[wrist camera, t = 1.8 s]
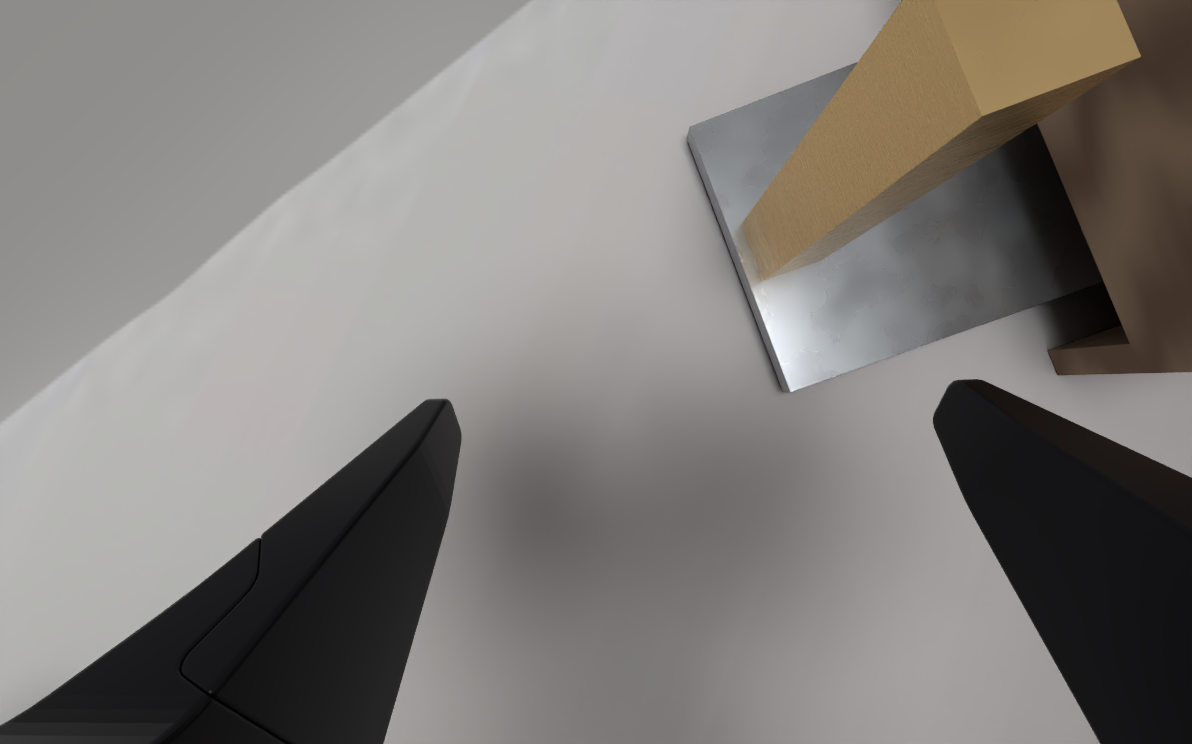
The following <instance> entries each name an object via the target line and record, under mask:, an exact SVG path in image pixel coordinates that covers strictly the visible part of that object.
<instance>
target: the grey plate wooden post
mask: <svg viewBox="0 0 1192 744" xmlns="http://www.w3.org/2000/svg"><path fill="white" fill-rule="evenodd" d="M1140 57H1141V55H1140V53H1139V50H1138V48H1137V46H1136V43H1135V41H1134V39H1133V36H1132V34H1131V32H1130V30H1129V27H1128V25H1127V23H1126V20H1125V18H1124V16H1123V14H1122V11H1121V9H1120V7H1119V4H1118V2H1117V0H903V1H902V2H901V3H900V5H899V6H898V7H897V9H896V10H895V12H894V13H893V14H892V16H891V17H890V19H889V20H888V21H887V23H886V24H885V26H884V27H883V28H882V30H881V31H880V32H879V34H878V35H877V37H876V38H875V39H874V41H873V42H872V44H871V45H870V46H869V48H868V49H867V50H866V52H865V53H864V55H863V56H862V57H861V59H860V60H859V62H857V63H854V64H852V65H849V66H846V67H844V68H841V69H839V70H836V71H833V72H831V73H828V74H826V75H823V76H820V77H818V78H815V79H813V80H810V81H807V82H805V83H802V84H800V85H797V86H795V87H792V88H789V89H787V90H784V91H782V92H779V93H776V94H774V95H771V96H769V97H766V98H763V99H761V100H758V101H756V102H753V103H750V104H748V105H745V106H743V107H740V108H737V109H735V110H732V111H730V112H727V113H724V114H722V115H719V116H717V117H714V118H711V119H709V120H706V121H704V122H701V123H698V124H696V125H693V126H691V127H690V128H689V132H688V136H687V140H688V143H689V145H690V148H691V150H692V153H693V156H694V158H695V161H696V164H697V166H698V169H699V172H700V174H701V177H702V179H703V182H704V185H705V187H706V190H707V193H708V195H709V198H710V201H711V203H712V206H713V208H714V211H715V214H716V216H717V219H718V222H719V224H720V227H721V230H722V232H723V235H724V237H725V240H726V243H727V245H728V248H729V251H730V253H731V256H732V259H733V261H734V264H735V266H736V269H737V272H738V274H739V277H740V280H741V282H742V285H743V288H744V290H745V293H746V295H747V298H748V301H749V303H750V306H751V309H752V311H753V314H754V316H755V319H756V322H757V324H758V327H759V330H760V332H761V335H762V338H763V340H764V343H765V345H766V348H767V351H768V353H769V356H770V359H771V361H772V364H773V367H774V369H775V372H776V374H777V377H778V380H779V382H780V385H781V388H782V390H783V392H792V391H795V390H798V389H801V388H804V387H806V386H809V385H812V384H815V383H818V382H821V381H824V380H826V379H829V378H832V377H835V376H838V375H841V374H843V373H846V372H849V371H852V370H855V369H858V368H860V367H863V366H866V365H869V364H872V363H875V362H877V361H880V360H883V359H886V358H889V357H892V356H894V355H897V354H900V353H903V352H906V351H909V350H911V349H914V348H917V347H920V346H923V345H926V344H928V343H931V342H934V341H937V340H940V339H943V338H945V337H948V336H951V335H954V334H957V333H960V332H962V331H965V330H968V329H971V328H974V327H977V326H979V325H982V324H985V323H988V322H991V321H994V320H997V319H999V318H1002V317H1005V316H1008V315H1011V314H1014V313H1016V312H1019V311H1022V310H1025V309H1028V308H1031V307H1033V306H1036V305H1039V304H1042V303H1045V302H1048V301H1050V300H1053V299H1056V298H1059V297H1062V296H1065V295H1067V294H1070V293H1073V292H1076V291H1079V290H1082V289H1084V288H1087V287H1090V286H1093V285H1096V284H1099V283H1101V282H1104V281H1103V279H1102V276H1101V274H1100V271H1099V269H1098V267H1097V264H1096V262H1095V259H1094V257H1093V255H1092V252H1091V250H1090V248H1089V245H1088V243H1087V240H1086V238H1085V236H1084V233H1083V231H1082V229H1081V226H1080V224H1079V221H1078V219H1077V217H1076V214H1075V212H1074V209H1073V207H1072V205H1071V202H1070V200H1069V198H1068V195H1067V193H1066V190H1065V188H1064V186H1063V183H1062V181H1061V179H1060V176H1059V174H1058V171H1057V169H1056V167H1055V164H1054V162H1053V159H1052V157H1051V155H1050V152H1049V150H1048V148H1047V145H1046V143H1045V140H1044V138H1043V136H1042V133H1041V131H1040V129H1039V126H1038V124H1037V123H1038V122H1040V121H1041V120H1043V119H1044V118H1046V117H1047V116H1049V115H1051V114H1052V113H1054V112H1055V111H1057V110H1058V109H1060V108H1062V107H1063V106H1065V105H1066V104H1068V103H1069V102H1071V101H1073V100H1074V99H1076V98H1077V97H1079V96H1080V95H1082V94H1083V93H1085V92H1087V91H1088V90H1090V89H1091V88H1093V87H1094V86H1096V85H1098V84H1099V83H1101V82H1102V81H1104V80H1105V79H1107V78H1109V77H1110V76H1112V75H1113V74H1115V73H1116V72H1118V71H1120V70H1121V69H1123V68H1124V67H1126V66H1127V65H1129V64H1131V63H1132V62H1134V61H1135V60H1137V59H1138V58H1140Z"/></svg>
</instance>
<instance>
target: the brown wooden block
mask: <svg viewBox="0 0 1192 744" xmlns="http://www.w3.org/2000/svg"><path fill="white" fill-rule="evenodd" d="M1117 2H1118V4H1119V7H1120V9H1121V11H1122V14H1123V16H1124V18H1125V20H1126V23H1127V25H1128V27H1129V30H1130V32H1131V34H1132V36H1133V39H1134V41H1135V43H1136V46H1137V48H1138V50H1139V53H1140V55H1141V57H1140V58H1138V59H1137V60H1135V61H1134V62H1132V63H1131V64H1129V65H1127V66H1126V67H1124V68H1123V69H1121V70H1120V71H1118V72H1116V73H1115V74H1113V75H1112V76H1110V77H1109V78H1107V79H1105V80H1104V81H1102V82H1101V83H1099V84H1098V85H1096V86H1094V87H1093V88H1091V89H1090V90H1088V91H1087V92H1085V93H1083V94H1082V95H1080V96H1079V97H1077V98H1076V99H1074V100H1073V101H1071V102H1069V103H1068V104H1066V105H1065V106H1063V107H1062V108H1060V109H1058V110H1057V111H1055V112H1054V113H1052V114H1051V115H1049V116H1047V117H1046V118H1044V119H1043V120H1041V121H1040V122H1038V123H1037V124H1038V126H1039V129H1040V131H1041V133H1042V136H1043V138H1044V140H1045V143H1046V145H1047V148H1048V150H1049V152H1050V155H1051V157H1052V159H1053V162H1054V164H1055V167H1056V169H1057V171H1058V174H1059V176H1060V179H1061V181H1062V183H1063V186H1064V188H1065V190H1066V193H1067V195H1068V198H1069V200H1070V202H1071V205H1072V207H1073V209H1074V212H1075V214H1076V217H1077V219H1078V221H1079V224H1080V226H1081V229H1082V231H1083V233H1084V236H1085V238H1086V240H1087V243H1088V245H1089V248H1090V250H1091V252H1092V255H1093V257H1094V259H1095V262H1096V264H1097V267H1098V269H1099V271H1100V274H1101V276H1102V279H1103V281H1104V283H1105V286H1106V288H1107V290H1108V293H1109V295H1110V298H1111V300H1112V302H1113V305H1114V307H1115V310H1116V312H1117V314H1118V317H1119V319H1120V321H1121V324H1122V325H1121V326H1118V327H1115V328H1112V329H1109V330H1106V331H1103V332H1100V333H1098V334H1095V335H1092V336H1089V337H1086V338H1083V339H1080V340H1077V341H1075V342H1072V343H1069V344H1066V345H1063V346H1060V347H1057V348H1054V349H1051V350H1049V351H1048V352H1049V354H1050V357H1051V359H1052V362H1053V364H1054V366H1055V369H1056V371H1057V374H1058V375H1085V374H1126V373H1167V372H1192V0H1117Z"/></svg>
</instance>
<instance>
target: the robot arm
mask: <svg viewBox="0 0 1192 744" xmlns="http://www.w3.org/2000/svg"><path fill="white" fill-rule="evenodd" d="M933 425H934V428H935V431H936V433H937V436H938V438H939V440H940V443H941V445H942V448H943V450H944V452H945V455H946V457H947V459H948V462H949V464H950V467H951V469H952V471H953V474H954V476H955V478H956V481H957V483H958V486H959V488H960V490H961V492H962V495H963V497H964V499H965V501H966V503H967V505H968V507H969V509H970V511H971V513H972V515H973V517H974V518H975V520H976V522H977V524H978V526H979V527H980V529H981V531H982V533H983V535H984V536H985V538H986V540H987V542H988V543H989V545H990V547H991V549H992V551H993V552H994V554H995V556H996V558H997V560H998V561H999V563H1000V565H1001V567H1002V569H1003V570H1004V572H1005V574H1006V576H1007V577H1008V579H1009V581H1010V583H1011V585H1012V586H1013V588H1014V590H1015V592H1016V594H1017V595H1018V597H1019V599H1020V601H1021V603H1022V604H1023V606H1024V608H1025V610H1026V612H1027V613H1028V615H1029V617H1030V619H1031V620H1032V622H1033V624H1034V626H1035V628H1036V629H1037V631H1038V633H1039V635H1040V637H1041V638H1042V640H1043V642H1044V644H1045V646H1046V647H1047V649H1048V651H1049V653H1050V655H1051V656H1052V658H1053V660H1054V662H1055V663H1056V665H1057V667H1058V669H1059V671H1060V672H1061V674H1062V676H1063V678H1064V680H1065V681H1066V683H1067V685H1068V687H1069V689H1070V690H1071V692H1072V694H1073V696H1074V697H1075V699H1076V701H1077V703H1078V705H1079V706H1080V708H1081V710H1082V712H1083V714H1084V715H1085V717H1086V719H1087V721H1088V723H1089V724H1090V726H1091V728H1092V730H1093V732H1094V733H1095V735H1096V737H1097V739H1098V740H1099V742H1100V744H1192V478H1191V477H1189V476H1187V475H1185V474H1182V473H1180V472H1178V471H1176V470H1174V469H1172V468H1170V467H1167V466H1165V465H1163V464H1161V463H1159V462H1157V461H1155V460H1152V459H1150V458H1148V457H1146V456H1144V455H1142V454H1140V453H1137V452H1135V451H1133V450H1131V449H1129V448H1127V447H1125V446H1122V445H1120V444H1118V443H1116V442H1114V441H1112V440H1110V439H1107V438H1105V437H1103V436H1101V435H1099V434H1097V433H1095V432H1092V431H1090V430H1088V429H1086V428H1084V427H1082V426H1080V425H1077V424H1075V423H1073V422H1071V421H1069V420H1067V419H1065V418H1063V417H1060V416H1058V415H1056V414H1054V413H1052V412H1050V411H1048V410H1045V409H1043V408H1041V407H1039V406H1037V405H1035V404H1033V403H1030V402H1028V401H1026V400H1024V399H1022V398H1020V397H1018V396H1015V395H1013V394H1011V393H1009V392H1007V391H1005V390H1003V389H1000V388H998V387H996V386H994V385H992V384H990V383H988V382H985V381H983V380H978V379H972V380H956V381H953V382H952V383H951V384H949V386H948V387H947V389H946V391H945V393H944V395H943V397H942V399H941V401H940V403H939V405H938V407H937V409H936V411H935V413H934V416H933ZM460 446H461V430H460V426H459V423H458V421H457V418H456V415H455V412H454V409H453V406H452V404H451V402H450V401H449V400H448V399H428V400H425V401H424V402H423V403H421V404H420V405H419V406H418V407H416V408H415V409H414V410H413V411H412V412H410V413H409V414H408V415H407V416H405V417H404V418H403V419H402V420H401V421H399V422H398V423H397V424H396V425H395V426H393V427H392V428H391V429H390V430H388V431H387V432H386V433H385V434H384V435H382V436H381V437H380V438H379V439H377V440H376V441H375V442H374V443H373V444H371V445H370V446H369V447H368V448H366V449H365V450H364V451H363V452H362V453H360V454H359V455H358V456H357V457H356V458H354V459H353V460H352V461H351V462H349V463H348V464H347V465H346V466H345V467H343V468H342V469H341V470H340V471H338V472H337V473H336V474H335V475H334V476H332V477H331V478H330V479H329V480H327V481H326V482H325V483H324V484H323V485H321V486H320V487H319V488H318V489H317V490H315V491H314V492H313V493H312V494H310V495H309V496H308V497H307V498H306V499H304V500H303V501H302V502H301V503H299V504H298V505H297V506H296V507H295V508H293V509H292V510H291V511H290V512H288V513H287V514H286V515H285V516H284V517H282V518H281V519H280V520H279V521H277V522H276V523H275V524H274V525H273V526H271V527H270V528H269V529H268V530H267V531H265V532H264V533H263V534H262V535H261V538H257V539H255V540H254V541H253V542H252V543H250V544H249V545H248V546H247V547H246V548H244V549H243V550H242V551H241V552H240V553H238V554H237V555H236V556H235V557H233V558H232V559H231V560H230V561H228V562H227V563H226V564H225V565H223V566H222V567H221V568H220V569H218V570H217V571H216V572H214V573H213V574H212V575H211V576H209V577H208V578H207V579H206V580H204V581H203V582H202V583H201V584H199V585H198V586H197V587H195V588H194V589H193V590H191V591H190V592H189V593H187V594H186V595H185V596H183V597H182V598H181V599H179V600H178V601H177V602H175V603H174V604H173V605H171V606H170V607H169V608H167V609H166V610H165V611H163V612H162V613H161V614H159V615H158V616H157V617H155V618H154V619H152V620H151V621H150V622H148V623H147V624H146V625H144V626H143V627H141V628H140V629H139V630H137V631H136V632H135V633H133V634H132V635H130V636H129V637H128V638H126V639H125V640H124V641H122V642H121V643H119V644H118V645H117V646H115V647H114V648H113V649H111V650H110V651H108V652H107V653H106V654H104V655H103V656H102V657H100V658H99V659H97V660H96V661H95V662H93V663H92V664H91V665H89V666H88V667H86V668H85V669H84V670H82V671H81V672H80V673H78V674H77V675H75V676H74V677H73V678H71V679H70V680H69V681H67V682H66V683H64V684H63V685H62V686H60V687H59V688H58V689H56V690H55V691H53V692H52V693H51V694H49V695H48V696H46V697H45V698H43V699H42V700H41V701H39V702H38V703H36V704H35V705H33V706H32V707H30V708H29V709H27V710H26V711H24V712H22V713H21V714H19V715H17V716H16V717H14V718H12V719H11V720H9V721H8V722H6V723H4V724H2V725H0V744H383V743H384V739H385V736H386V732H387V729H388V725H389V722H390V719H391V715H392V712H393V708H394V705H395V701H396V698H397V694H398V691H399V687H400V684H401V680H402V677H403V673H404V670H405V666H406V663H407V659H408V656H409V653H410V649H411V646H412V642H413V639H414V635H415V632H416V628H417V625H418V621H419V618H420V614H421V611H422V607H423V604H424V600H425V597H426V593H427V590H428V586H429V583H430V580H431V576H432V573H433V569H434V566H435V562H436V559H437V555H438V552H439V548H440V545H441V541H442V538H443V534H444V531H445V527H446V524H447V520H448V516H449V511H450V506H451V501H452V495H453V489H454V483H455V477H456V470H457V464H458V458H459V452H460Z"/></svg>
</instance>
